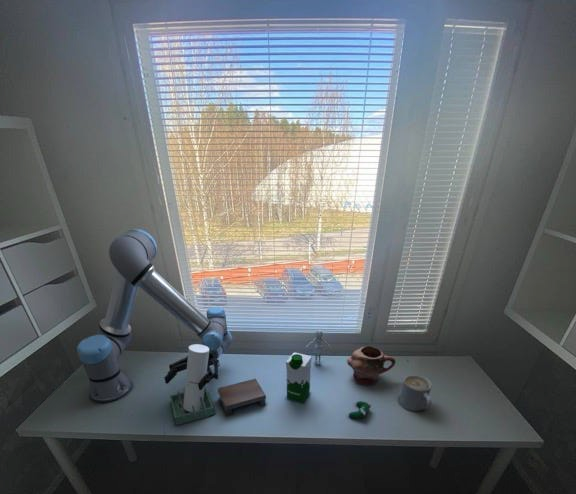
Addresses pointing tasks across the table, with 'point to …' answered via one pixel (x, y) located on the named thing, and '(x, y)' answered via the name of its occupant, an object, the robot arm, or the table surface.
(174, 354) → the table surface
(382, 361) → the clay jug
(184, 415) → the drying rack
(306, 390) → the milk carton
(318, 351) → the human figurine
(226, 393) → the brown slab
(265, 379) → the table surface
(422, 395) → the coffee mug
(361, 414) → the green curved piece
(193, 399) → the cylindrical container
